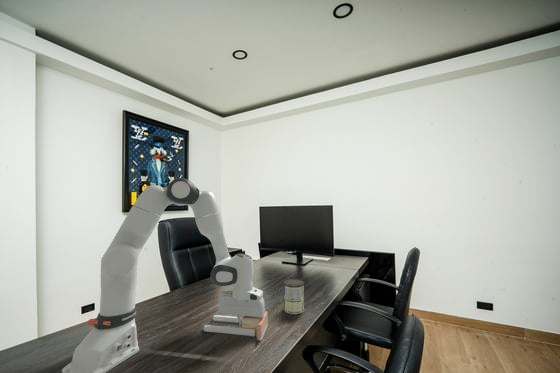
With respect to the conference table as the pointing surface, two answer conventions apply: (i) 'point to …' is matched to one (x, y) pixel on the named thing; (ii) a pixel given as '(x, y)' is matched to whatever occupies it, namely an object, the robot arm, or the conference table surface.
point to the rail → (233, 330)
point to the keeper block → (250, 323)
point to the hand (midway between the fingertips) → (240, 325)
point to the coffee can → (293, 296)
